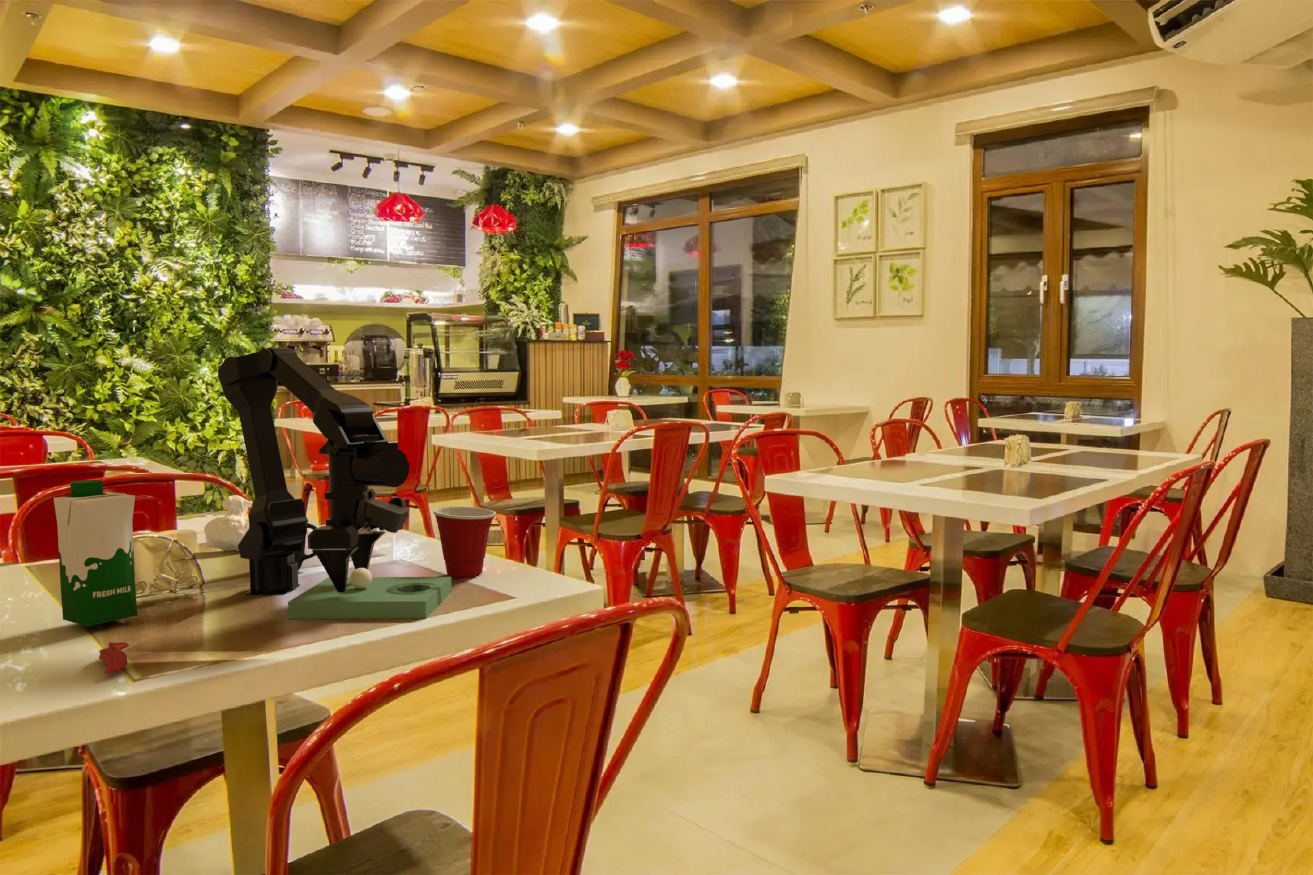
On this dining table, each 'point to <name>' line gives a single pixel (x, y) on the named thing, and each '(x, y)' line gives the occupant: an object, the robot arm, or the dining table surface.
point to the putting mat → (372, 599)
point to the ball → (361, 578)
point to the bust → (229, 525)
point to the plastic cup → (463, 539)
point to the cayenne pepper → (114, 657)
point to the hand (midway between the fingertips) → (352, 584)
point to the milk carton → (96, 554)
